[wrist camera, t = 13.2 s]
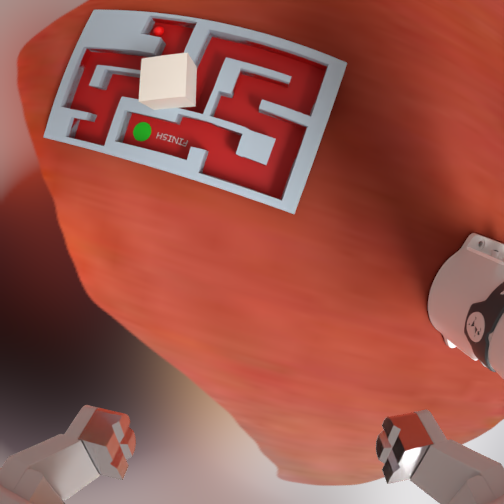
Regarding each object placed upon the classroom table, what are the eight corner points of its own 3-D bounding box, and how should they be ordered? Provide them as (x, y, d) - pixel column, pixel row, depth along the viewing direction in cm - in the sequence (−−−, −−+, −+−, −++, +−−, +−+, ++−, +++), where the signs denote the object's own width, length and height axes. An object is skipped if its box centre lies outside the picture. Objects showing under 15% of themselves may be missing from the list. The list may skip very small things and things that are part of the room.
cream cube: (196, 67, 31) (187, 52, 26) (195, 106, 32) (185, 96, 27) (156, 71, 31) (141, 58, 26) (154, 110, 32) (138, 101, 27)
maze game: (340, 70, 33) (347, 62, 30) (291, 211, 38) (294, 214, 35) (103, 17, 31) (93, 9, 28) (56, 138, 36) (43, 137, 33)
